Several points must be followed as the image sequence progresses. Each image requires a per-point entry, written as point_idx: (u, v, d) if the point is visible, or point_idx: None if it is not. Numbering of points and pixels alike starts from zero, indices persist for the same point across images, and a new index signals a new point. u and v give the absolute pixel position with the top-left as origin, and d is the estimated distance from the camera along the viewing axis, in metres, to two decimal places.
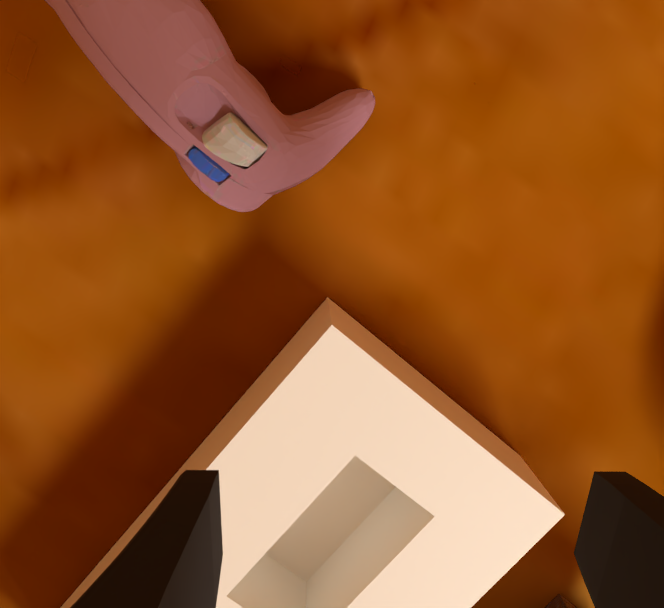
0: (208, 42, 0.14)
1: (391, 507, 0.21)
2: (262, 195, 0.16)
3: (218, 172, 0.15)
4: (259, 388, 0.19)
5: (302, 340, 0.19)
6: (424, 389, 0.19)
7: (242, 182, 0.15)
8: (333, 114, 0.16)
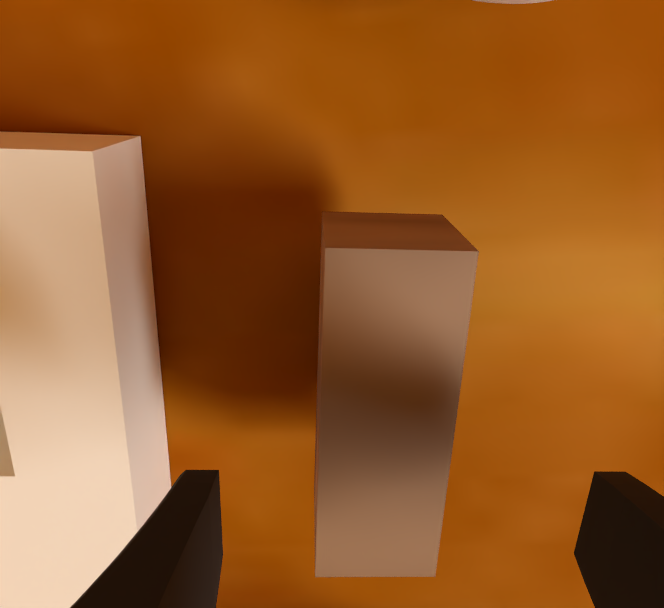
0: None
1: None
2: None
3: None
4: None
5: None
6: None
7: None
8: None
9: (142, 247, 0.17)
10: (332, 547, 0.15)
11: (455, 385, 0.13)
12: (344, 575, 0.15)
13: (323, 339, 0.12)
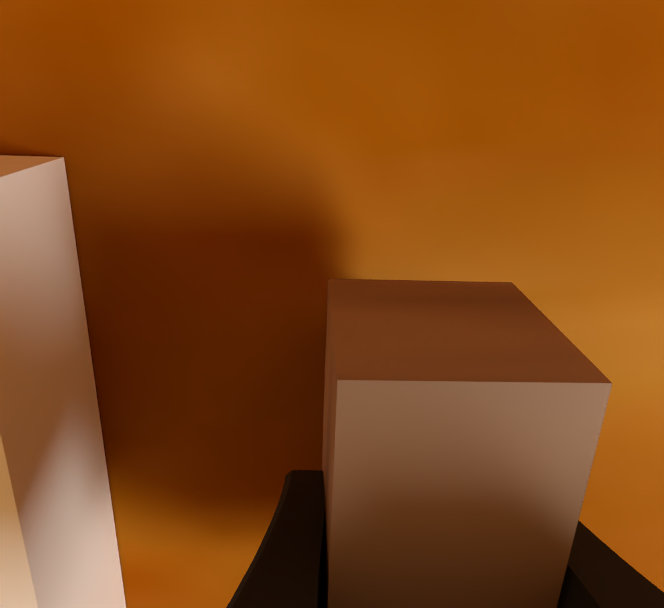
0: None
1: None
2: None
3: None
4: None
5: None
6: None
7: None
8: None
9: (69, 316, 0.12)
10: None
11: (552, 587, 0.08)
12: None
13: (332, 523, 0.07)
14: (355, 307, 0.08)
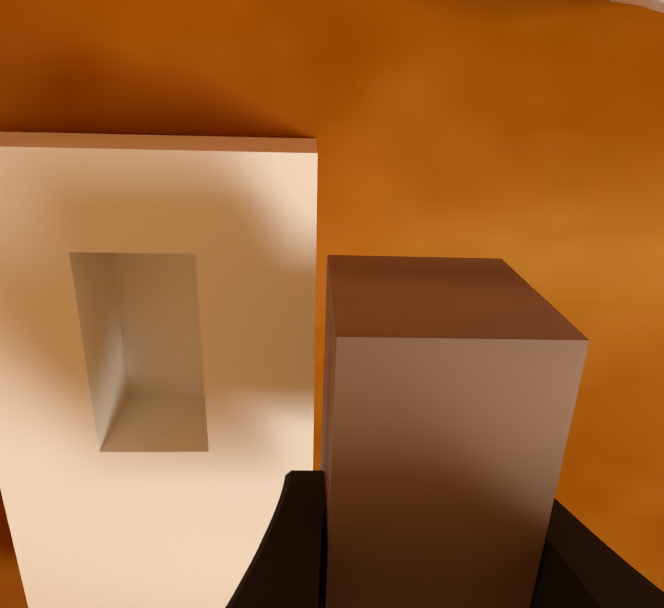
0: None
1: None
2: None
3: None
4: None
5: None
6: (110, 142, 0.16)
7: None
8: None
9: None
10: None
11: (537, 536, 0.08)
12: None
13: (332, 473, 0.08)
14: (353, 278, 0.09)
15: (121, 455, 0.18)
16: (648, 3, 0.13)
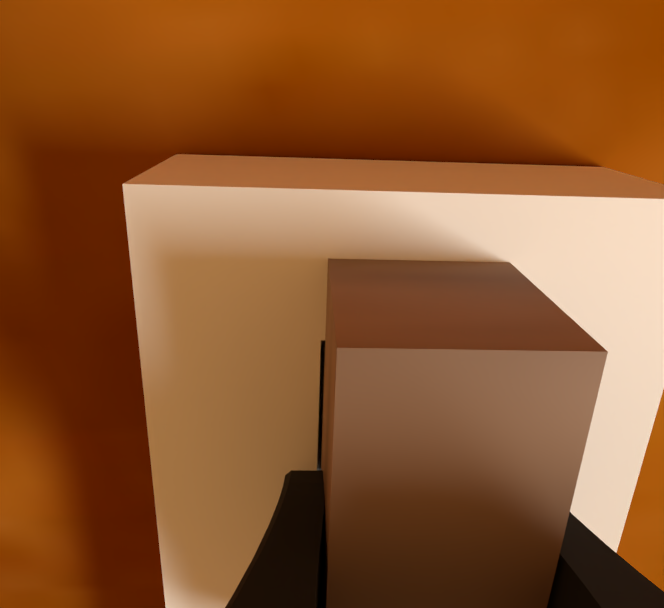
0: None
1: None
2: None
3: None
4: None
5: None
6: (369, 175, 0.11)
7: None
8: None
9: None
10: None
11: (550, 557, 0.08)
12: None
13: (332, 492, 0.07)
14: (355, 283, 0.09)
15: None
16: None
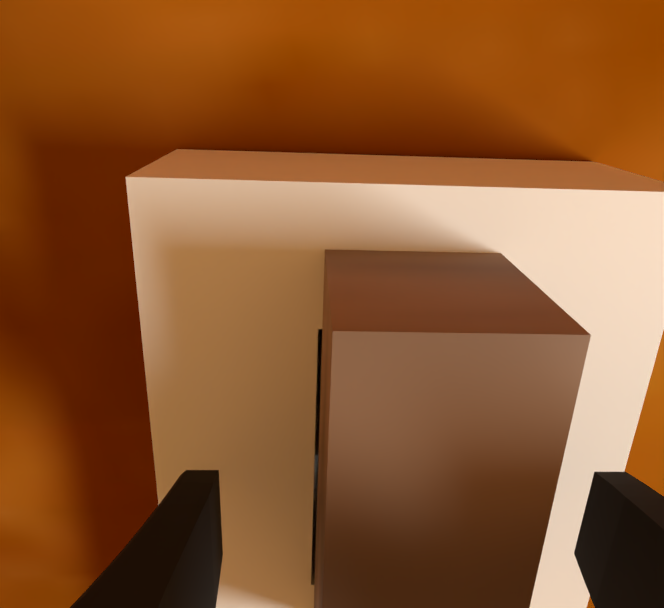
0: None
1: None
2: None
3: None
4: None
5: None
6: (365, 169, 0.11)
7: None
8: None
9: None
10: None
11: (537, 534, 0.08)
12: None
13: (328, 471, 0.08)
14: (350, 273, 0.09)
15: None
16: None
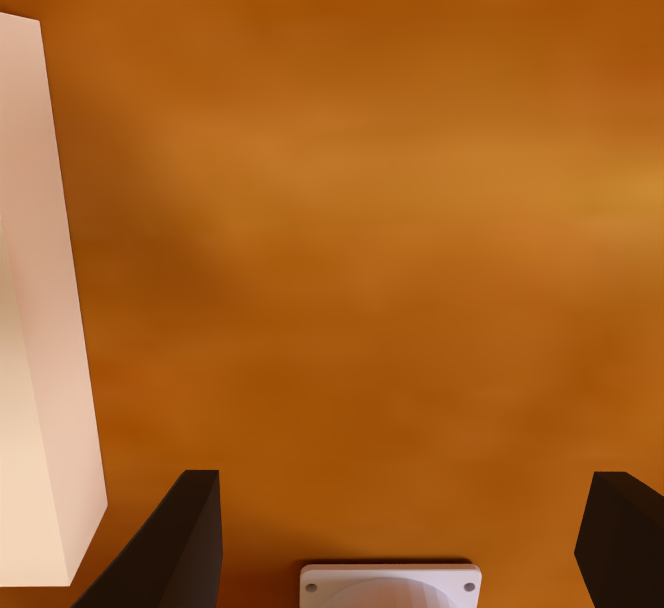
0: None
1: None
2: None
3: None
4: None
5: None
6: None
7: None
8: None
9: (43, 136, 0.17)
10: None
11: None
12: None
13: None
14: None
15: None
16: None
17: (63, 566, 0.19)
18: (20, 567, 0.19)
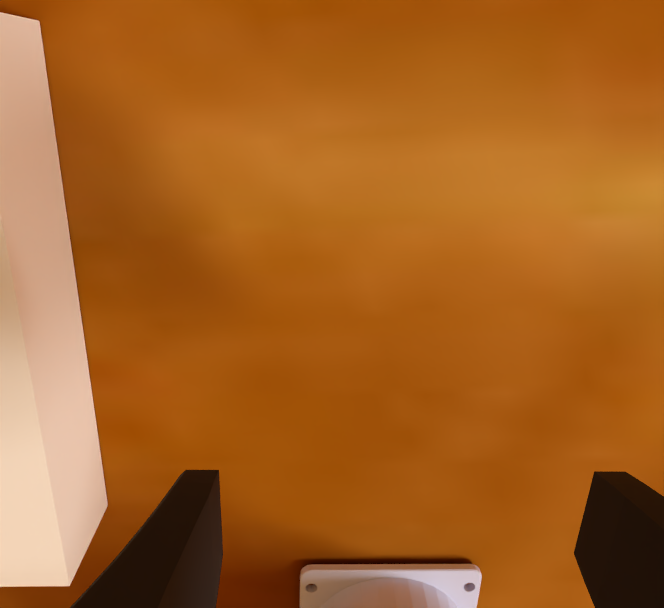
0: None
1: None
2: None
3: None
4: None
5: None
6: None
7: None
8: None
9: (43, 136, 0.17)
10: None
11: None
12: None
13: None
14: None
15: None
16: None
17: (63, 566, 0.19)
18: (20, 567, 0.19)
